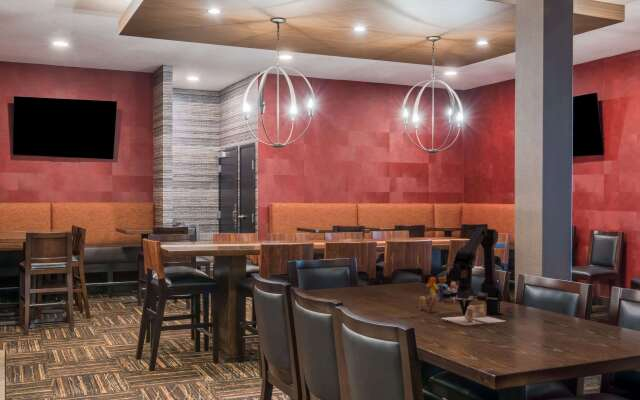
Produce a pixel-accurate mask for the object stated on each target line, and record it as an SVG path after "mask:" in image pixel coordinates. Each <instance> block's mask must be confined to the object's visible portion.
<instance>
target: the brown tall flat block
mask: <svg viewBox="0 0 640 400" xmlns="http://www.w3.org/2000/svg"><path fill="white" fill-rule="evenodd" d="M469 306H470V305H469ZM469 306H468V308H467V311H466V314H465V318H466V319H467V321H468V322H473V310H472V309H470V307H469Z"/></svg>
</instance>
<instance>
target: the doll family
mask: <svg viewBox="0 0 640 400" xmlns="http://www.w3.org/2000/svg"><path fill="white" fill-rule="evenodd" d="M446 278H447V276H440V277H437V279H436V277H434V276H430V277H429V279H428V282H427V284H426V285H425V287H426V288H429V292H430V293H429V295H430V294H433V293H435V294H436V295H437V297H438V298H439V300H438V303H441V304H447V301H446V300H447V298H442V292H443V291H445V290H452V291H453V292H454V293H457V288H458V284H457V283H456V281H451V283H450V284H449V285H448V284H447V283H445V282H447V279H446ZM438 294H439V295H438ZM448 303H449V304H452V303H455V304H457V301H456V297H450V298H449V302H448Z"/></svg>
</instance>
